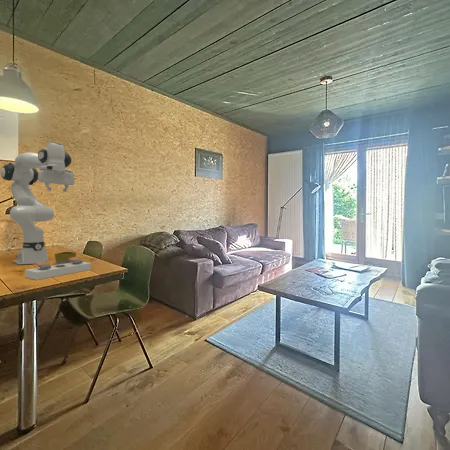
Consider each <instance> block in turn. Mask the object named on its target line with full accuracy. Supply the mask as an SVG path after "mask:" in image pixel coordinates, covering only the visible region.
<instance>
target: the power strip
mask: <svg viewBox="0 0 450 450" xmlns="http://www.w3.org/2000/svg"><path fill="white" fill-rule="evenodd" d="M50 266H51V268H49V269H41V268H39V267H36V268H35V267H34V268H28V269H24V278H26V279H31V280H35V281H39V280H45V279H50V278H56V277H59V276H65V275H70V274H75V273H80V272H85V271H91V270H92V263H91V262H88V261H87V262H86V261H83V263H79V264H75V263H73V262H72V263H65V264H59V265H53V264H52V265H50Z"/></svg>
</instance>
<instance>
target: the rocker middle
mask: <svg viewBox="0 0 450 450" xmlns="http://www.w3.org/2000/svg"><path fill="white" fill-rule="evenodd" d="M67 262H68V261H67V260H66V261H60V262H56V261H55V262H52V266H53V265H58V264H63V263H67Z"/></svg>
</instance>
